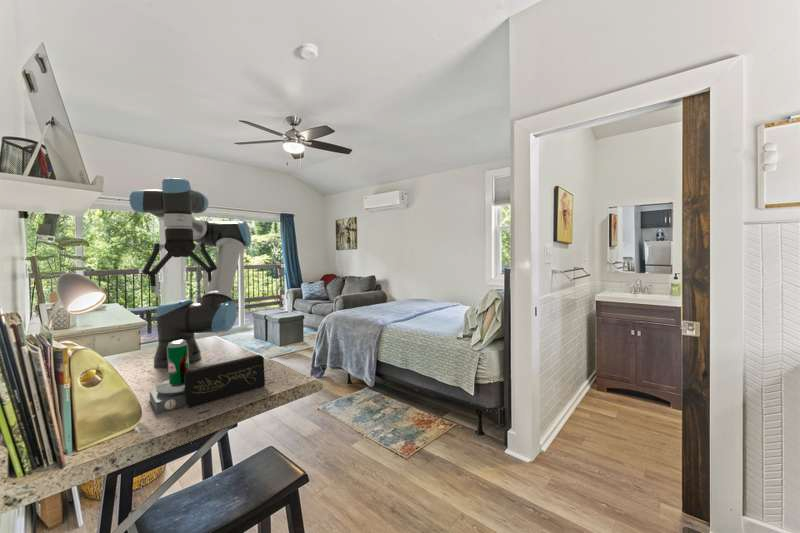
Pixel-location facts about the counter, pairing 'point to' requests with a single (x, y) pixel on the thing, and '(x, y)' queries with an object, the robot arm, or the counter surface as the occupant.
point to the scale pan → (169, 388)
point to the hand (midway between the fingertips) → (183, 294)
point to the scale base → (166, 401)
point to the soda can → (177, 361)
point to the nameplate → (223, 380)
